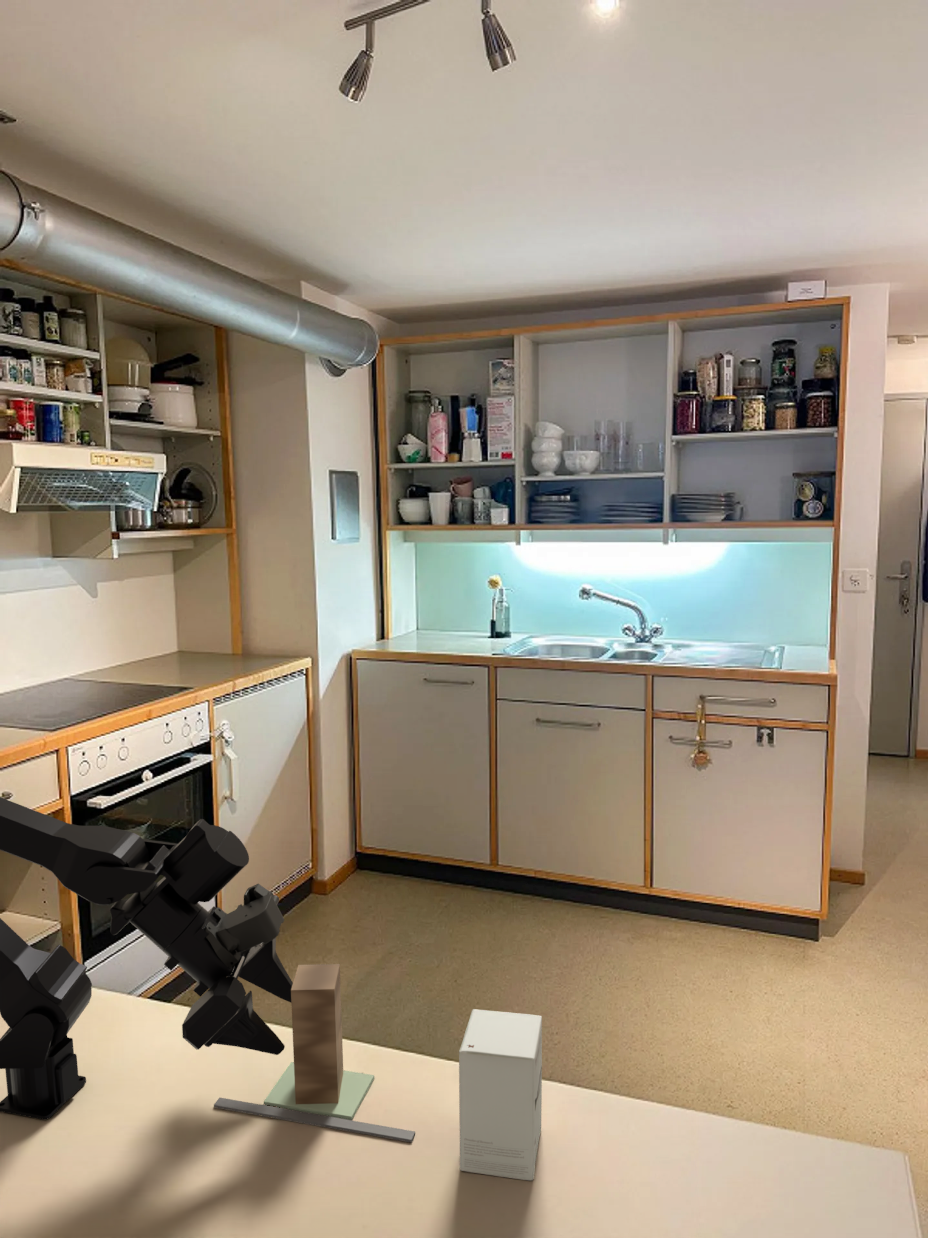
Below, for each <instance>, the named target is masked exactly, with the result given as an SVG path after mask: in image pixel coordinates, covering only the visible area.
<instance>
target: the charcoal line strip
mask: <svg viewBox="0 0 928 1238" xmlns="http://www.w3.org/2000/svg"><path fill="white" fill-rule="evenodd" d="M213 1108H215V1109H220V1110H221V1109H222V1110H226V1111H232V1112H237V1113H242V1114H249V1115H255V1116H259V1115H262V1116H261V1117H265V1118H271V1117H272V1119H277V1120H283V1121H288V1122H294V1123H300V1124H306V1125H310V1126H317V1127H320V1128H321V1127H323V1128H328V1129H334V1130H339V1131H344V1132H349V1133H356V1134H362V1135H366V1136H367V1135H368V1136H373V1137H379V1138H384V1139H390V1140H396V1141H400V1142H401V1141H402V1142H407V1143H413V1140H414V1137H415V1136H416V1131H414V1130H409V1129H403V1128H397V1127H392V1126H391V1127H390V1126H386V1125H380V1124H375V1123H368V1122H362V1121H356V1120H353V1119H352V1120H348V1119H342V1118H336V1117H331V1116H325V1115H319V1114H313V1113H308V1112H302V1111H296V1110H290V1109H285V1108H279V1107H273V1106H267V1105H264V1104H260V1103H255V1102H254V1103H253V1102H248V1101H241V1100H236V1099H230V1098H226V1097H219V1098H217V1100H216V1101H215V1103H214V1104H213Z"/></svg>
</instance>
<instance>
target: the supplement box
mask: <svg viewBox="0 0 928 1238" xmlns="http://www.w3.org/2000/svg"><path fill="white" fill-rule="evenodd" d="M542 1031H543V1017H542V1015H539V1014H529V1013H519V1012H517V1013H516V1012H510V1011H509V1012H508V1011H497V1010H488V1009H487V1010H486V1009H475V1008H473V1009H471V1013H470V1016H469V1020H468V1023H467V1025H466V1029H465V1032H464V1035H463V1038H462V1039H463V1040H462V1042H461V1045H460V1048H459V1051H458V1072H459V1073H458V1074H459V1075H458V1082H459V1083H458V1084H459V1087H458V1089H459V1092H458V1093H459V1095H458V1096H459V1098H458V1099H459V1101H458V1103H459V1170H460V1171H463V1172H468V1173H472V1174H473V1173H475V1174H482V1175H487V1176H495V1177H500V1178H501V1177H502V1178H510V1179H516V1180H522V1181H533V1180H534V1179H535V1169H536V1168H535V1167H536V1159H537V1154H538V1149H539V1148H538V1147H539V1141H540V1136H541V1135H540V1134H541V1132H542V1103H543V1102H542V1100H543V1099H542V1093H543V1091H542V1088H543V1085H542V1084H543V1082H542V1081H543V1053H542V1052H543V1050H542V1049H543V1047H542V1046H543V1045H542V1044H543V1032H542Z"/></svg>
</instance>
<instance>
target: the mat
mask: <svg viewBox="0 0 928 1238" xmlns="http://www.w3.org/2000/svg"><path fill="white" fill-rule="evenodd" d="M374 1080H375V1074H370V1073H363V1072H356V1071H352V1070H351V1071H350V1070H344V1069H343V1078H342V1084H341V1090H340V1096H339V1102H338V1103H329V1104H296V1100H295V1076H294V1061H291V1062H290V1063H289V1065H287V1068H286V1069H285V1070H284V1071H283V1073H282V1074H281V1076H280V1078H279V1079H278V1081H277V1082H276V1083H275V1084H274V1086H273V1087H272V1089H271V1090H270V1092H269V1093H268V1095H267V1096H266V1097H265V1098H264V1099H263V1100H264V1101H263V1105H264V1104H265V1105H266V1106H267V1105H270V1106H272V1107H273V1106H277V1108H279V1107H280V1108H281V1107H282V1108H283V1109H286V1108H287V1109H289V1110H295V1111H300V1112H306V1113H312V1114H318V1115H323V1116H329V1117H335V1118H341V1119H346V1120H352V1121H353V1119H354V1117H355V1115H356V1114H357V1112H358V1110H359V1108H360V1106H361V1104H362V1102H363V1101H364V1098H365V1097H366V1095H367V1093H368V1091H369V1089H370V1088H371V1085H372V1084H373V1082H374Z"/></svg>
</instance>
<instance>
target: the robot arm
mask: <svg viewBox="0 0 928 1238" xmlns="http://www.w3.org/2000/svg"><path fill="white" fill-rule="evenodd" d="M0 851H1V852H4V853H6V854H9V855H11V856H15V857H17V858H20V859H23V860H25V861H27V862H30V863H33V864H35V865H38V866H41V867H43V868H44V869H46V870H47V871H49V872H51V873H52V874H53V875H54V876H55V877H56V879H57V880H58V881H59V882H60V883H61V885H62V886H63V887H65V888H66V889H67V890H69V891H71V892H72V893H74V894H76V895H78V896H79V897H81V898H83V899H85V900H86V901H88V902H90V903H92V904H93V905H97V906H110V905H111V904H112V906H111V907H110V908H109V912H110V919H111V920H110V931H109V933H110V934H111V935H112V936H115V935H118V934H119V932H121V931H122V929H124V928H125V926H126V925H128V924H129V923H131V925H132V926H134V927H135V928H136V929H137V930H138V931H139V932H141V934H143V935H144V936H145V937H146V938H147V939H149V941H151V942H152V943H153V944H154V945H155V946H156V947H157V948H158V949H160V951H162V952H163V953H164V954H166V955H167V956H168V957H167V959H166V960H165V962H164V964H163V965H164V966H165V967H166V968H167V969H168V970H170V971H173V970H174V969H175V967H177V965H178V967H180V968H181V969H182V970H183V971H184V972H185V973H186V974H188V975H189V976H190V977H191V978H192V979H193V980H195V981H196V984H195V986H194V988H193V992H194V993H195V994H197V995H198V996H199V997H200V998H198V999H197V1000H196V1001H195V1002H194V1003H193V1004H191V1007H190V1009H189V1011H188V1013H187V1014H186V1017H185V1019H184V1021H183V1022H182V1025H181V1030H182V1031H181V1033H182V1038H183V1039H184V1040H185V1041H186V1042H188V1044H190V1046H192V1047H193V1048H194V1049H195V1050H200V1049H201V1048H202V1047H203V1046H205V1047H207V1048H209V1047H211V1046H212V1045H213V1044H214V1045H223V1046H228V1047H237V1048H242V1049H248V1050H253V1051H257V1052H262V1053H266V1054H271V1055H275V1056H278V1055H280V1054H281V1053H282V1052H283V1051H284V1049H285V1044H284V1043H283V1041H282V1040H281V1039H280V1038H279V1036H278V1035H277V1034H276V1033H275V1032H274V1031H273V1030H272V1029H271V1027H269V1025H267V1023H266V1022H265V1020H263V1019H262V1017H261V1016H260V1015H259V1014H258V1013H257V1012H256V1011H255V1010H254V1005H253V1004H254V1003H253V992H252V990H249V992H248V993H247V992H246V990H245V987H244V985H243V983H242V982H241V981H240V980H239V979H238V978H240V979H243V980H244V981H246V982H249V983H250V984H252V985H254V986H256V987H259V988H260V989H261V990H264V991H266V992H268V993H269V994H272V995H273V996H275V997H277V998H280V999H282V1000H284V1001H286V1002H288V1003H291V988H292V985H293V982H294V981H292V978H291V977H290V975H289V974H288V972H287V970H286V969H285V967H284V964H283V963H282V962H281V959H280V958H279V955H278V954H277V951H276V948H277V947H276V946H277V945H276V942H277V937H278V936H279V934H280V928H281V926H282V924H283V923H284V922H285V918H284V916H283V914H282V912H281V910H280V908H279V907H278V904H279V901H280V897H279V896H278V895H276V894H275V895H274V894H273V892H272V890H270V891H269V890H268V889H267V888H266V887H264V886H262V885H261V884H260V883H256V884H254V885H252V886H250V887H248V888H246V890H245V892H244V894H243V904H242V903H240V904H238V905H237V907H236V909H234V910H232V911H230V912H229V913H227V912H225V911H224V910H222V908H221V907H217V906H212V907H211V908H210V909H209V910H207V909H206V908H204V907H203V906H202V904H200V903H208V902H210V901H211V900H212V899H214V898H215V897H216V896H217V895H218V894H219V892H221V891H222V889H224V888H225V887H226V886H227V885H228V884H229V883H230V882H231V881H232V880H233V879H234V878H235V877H236V876H237V875H238V874H239V873H240V872H242V870H244V868H245V867H247V865H248V864H249V862H250V856H249V855H250V854H249V852H248V850H247V847H246V846H245V845H244V843H243V842H242V841H241V839H240V838H239V837H238V835H236V834H235V833H233V831H231V830H227V829H225V828H223V827H221V826H219V825H215V824H214V825H213V824H209V823H208V822H207V821H206V820H205V819H203V818H199V820H198V821H196V823H195V824H194V825H193V826H192V827H191V829H190V830H189V831H188V832H187V834H186V836H185V837H183V838H182V839H181V841H179V842H178V843H175V842H169V841H161V840H160V841H159V840H154V839H153V840H151V839H144V838H142V837H141V836H140V835H138V834H137V833H135V832H133V831H128V830H124V829H120V828H115V827H111V826H105V825H77V824H73V823H67V822H65V821H63V820H61V819H58V818H55V817H53V816H49V815H48V814H45V813H42V812H39V811H37V810H34V809H33V808H30V807H28V806H27V807H26V806H24V805H21V804H19V803H17V802H15V801H11V800H8V799H6V798H3V797H1V796H0ZM160 876H163V877H162V878H161V879H160V880H159V881H158V882H156V881H157V880H158V879H159V877H160ZM127 895H131V896H130V897H129V898H126V899H123V898H125V897H126V896H127ZM87 969H88V967H87V965H84V964H82V963H80V962H78V961H77V960H76V959H75V958H74V957H73V956H72V955H71V954H70V952H69V951H68V950H67V949H66V947H64V946H62V945H61V944H58V945H56V947H55V948H54V949H52V950H51V952H48V951H43V950H40V949H36V948H33V947H32V946H31V945H30V944H28V943H27V942H26V941H25V940H24V939H23V938H22V937H21V936H20V935H19V934H18V933H17V932H15V931H14V930H13V928H12V927H10V926H9V925H8V924H7V923H6V922H5V921H4V920H3V919H2V918H1V917H0V1017H1V1018H2V1019H3V1021H4V1022H5V1024H6V1025H7V1027H8V1029H7V1030H6V1031H5V1033H3V1035H2V1036H0V1070H5V1079H6V1089H7V1095H6V1096H5V1097H4V1098H2V1100H0V1112H1V1113H6V1114H7V1113H8V1114H12V1115H18V1116H23V1117H27V1118H28V1117H29V1118H33V1119H38V1120H42V1121H43V1120H45V1121H46V1120H48V1119H50V1118H52V1116H53V1115H54V1114H55V1113H57V1111H58V1110H60V1108H62V1107H63V1106H64V1105H65V1104H66V1103H67V1102H68V1101H69V1100H70V1099H71V1098H72V1097H73V1096H74V1095H75V1094H76V1093H77V1092H78V1091H79V1090H80V1089H81V1088H82V1087H83V1086H85V1084H86V1083H87V1077H86V1076H83V1075H79V1069H78V1055H77V1054H76V1053H74V1039H73V1037H68V1033H69V1032H70V1030H71V1029H72V1027H73V1026H74V1025H75V1023H76V1022H77V1020H78V1019H79V1017H80V1016H81V1014H82V1013H83V1012H85V1011H84V1010H85V1009H86V1007H87V1006H88V1005H89V1004H90V1001H91V998H92V986H93V984H92V981H91V979H90V977H89V976H88V974H87V973H86V971H87Z"/></svg>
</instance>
